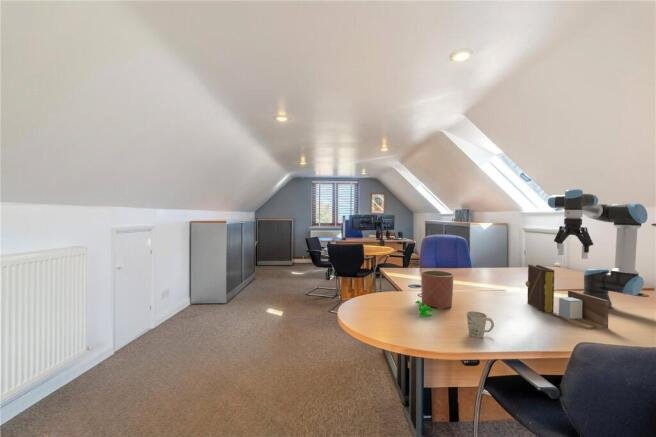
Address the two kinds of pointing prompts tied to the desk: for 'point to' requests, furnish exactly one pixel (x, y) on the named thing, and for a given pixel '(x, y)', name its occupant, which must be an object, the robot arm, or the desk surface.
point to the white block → (570, 308)
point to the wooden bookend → (589, 311)
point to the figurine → (424, 309)
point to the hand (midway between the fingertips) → (572, 256)
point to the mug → (478, 324)
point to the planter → (437, 288)
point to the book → (541, 288)
